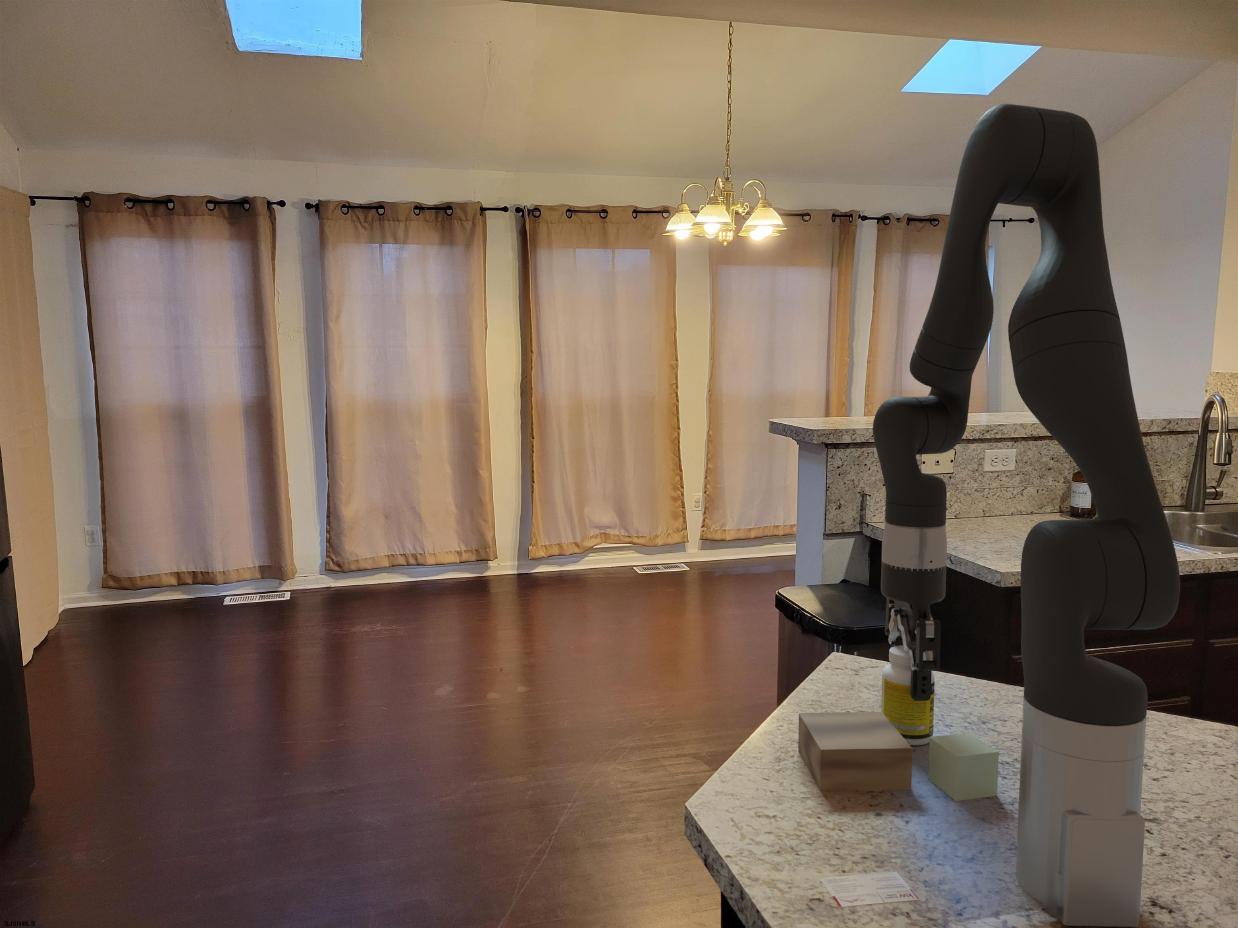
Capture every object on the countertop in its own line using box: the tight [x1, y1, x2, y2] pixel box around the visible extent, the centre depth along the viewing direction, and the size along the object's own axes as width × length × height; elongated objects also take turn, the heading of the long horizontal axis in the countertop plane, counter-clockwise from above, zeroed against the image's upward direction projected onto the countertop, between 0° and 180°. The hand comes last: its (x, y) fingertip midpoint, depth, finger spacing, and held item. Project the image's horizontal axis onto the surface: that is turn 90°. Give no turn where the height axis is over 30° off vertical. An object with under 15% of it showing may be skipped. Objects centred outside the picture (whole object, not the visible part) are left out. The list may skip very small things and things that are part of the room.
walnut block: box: [797, 711, 913, 792], centre depth 95 cm, size 10×10×5 cm
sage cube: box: [927, 732, 1000, 802], centre depth 90 cm, size 5×5×5 cm
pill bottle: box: [880, 645, 936, 746], centre depth 103 cm, size 6×6×11 cm
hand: (909, 685), depth 103 cm, fingers open, 8 cm apart
